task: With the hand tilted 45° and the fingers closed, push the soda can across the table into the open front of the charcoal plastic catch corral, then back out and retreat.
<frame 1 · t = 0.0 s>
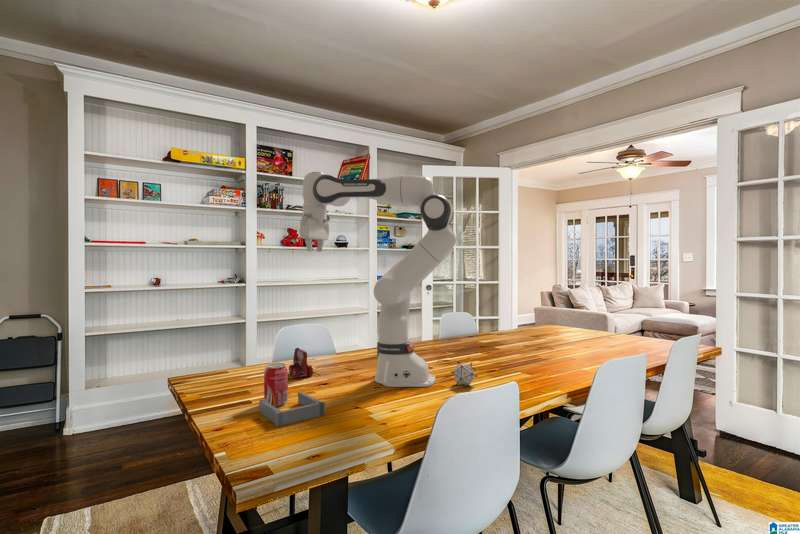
hand: (314, 251, 166), 48 cm above the table, tool pointing down, fingers open, 8 cm apart
corral: (290, 413, 126), on the table
game die: (464, 385, 153), on the table
toy fire truck: (300, 376, 168), on the table
soda can: (276, 404, 134), on the table
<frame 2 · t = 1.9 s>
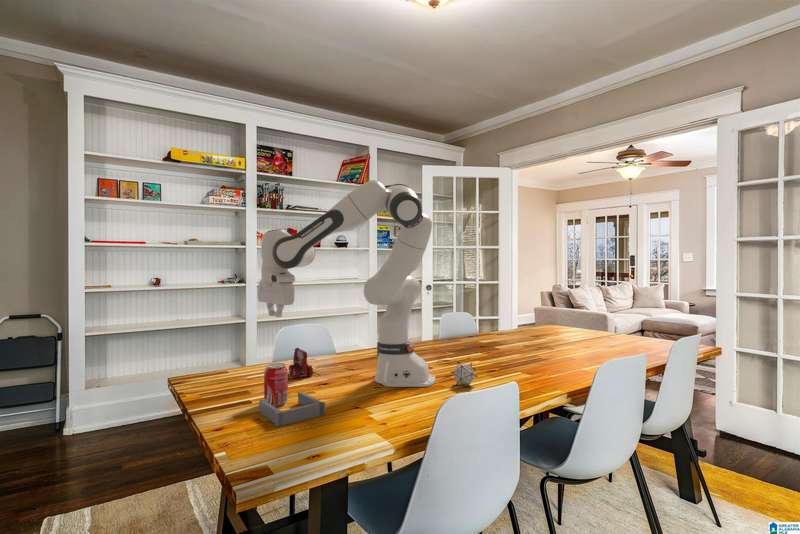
hand: (275, 316, 150), 25 cm above the table, tool pointing down, fingers open, 3 cm apart
nothing on the table moved.
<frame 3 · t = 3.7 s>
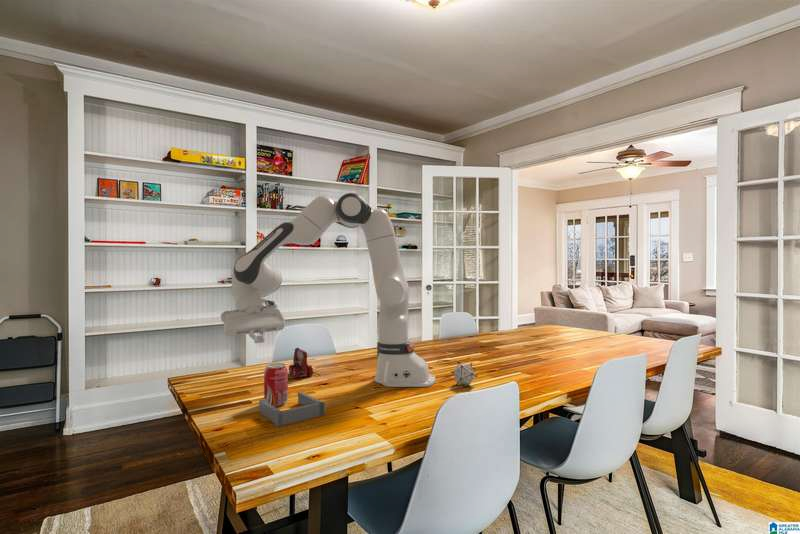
hand: (259, 341, 145), 17 cm above the table, tool tilted 45°, fingers closed
nothing on the table moved.
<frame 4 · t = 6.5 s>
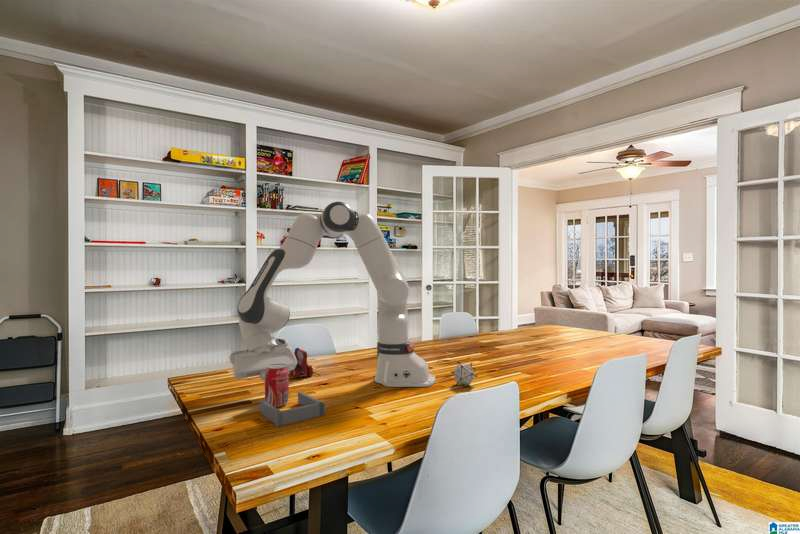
hand: (271, 384, 137), 5 cm above the table, tool tilted 45°, fingers closed
soda can: (276, 405, 134), on the table, touching gripper
everything else where it was.
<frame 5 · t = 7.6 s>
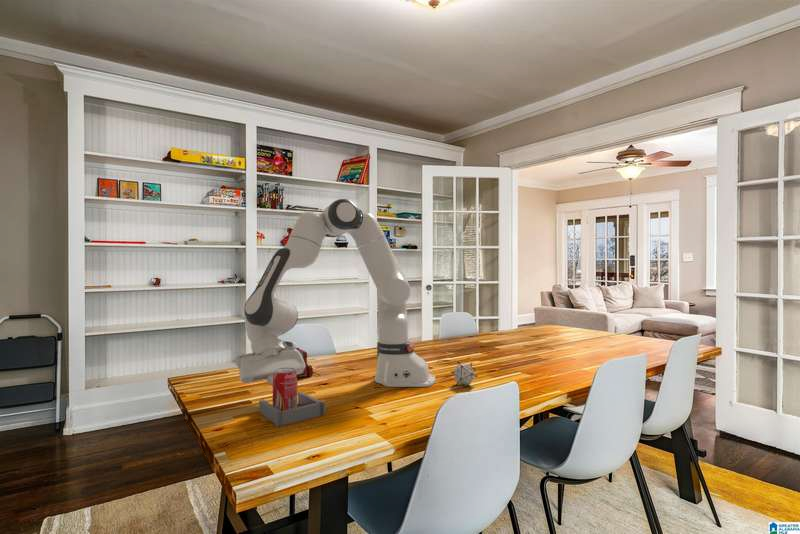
hand: (279, 388, 132), 5 cm above the table, tool tilted 45°, fingers closed
soda can: (285, 410, 129), on the table, touching gripper
everything else where it was.
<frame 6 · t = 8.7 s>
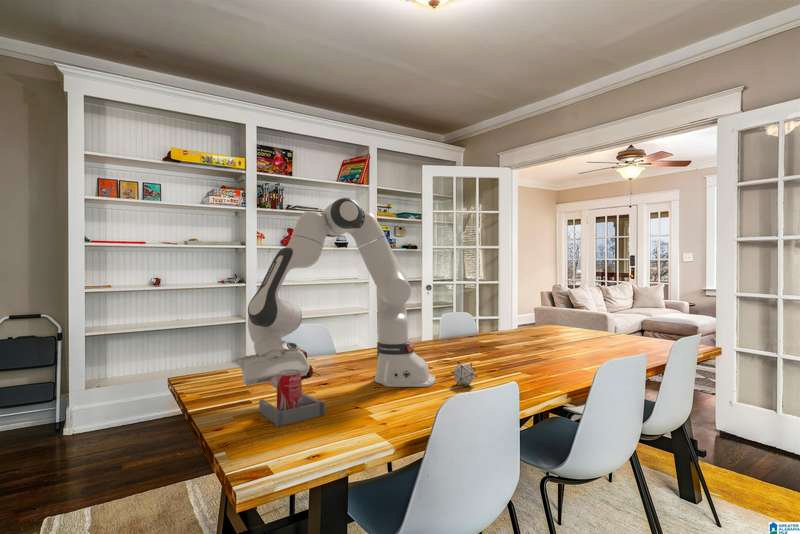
hand: (283, 391, 129), 5 cm above the table, tool tilted 45°, fingers closed
soda can: (289, 413, 126), on the table, touching gripper
everything else where it was.
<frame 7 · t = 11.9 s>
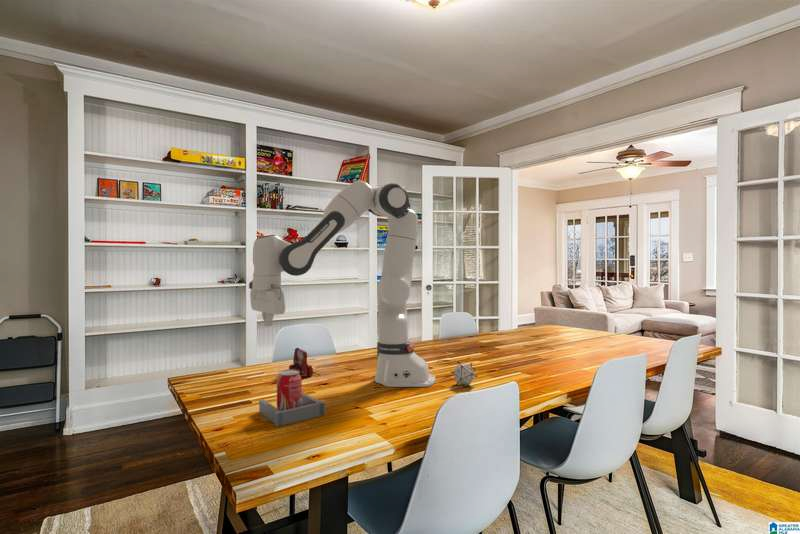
hand: (268, 325, 144), 23 cm above the table, tool pointing down, fingers closed
soda can: (289, 413, 126), on the table
everything else where it was.
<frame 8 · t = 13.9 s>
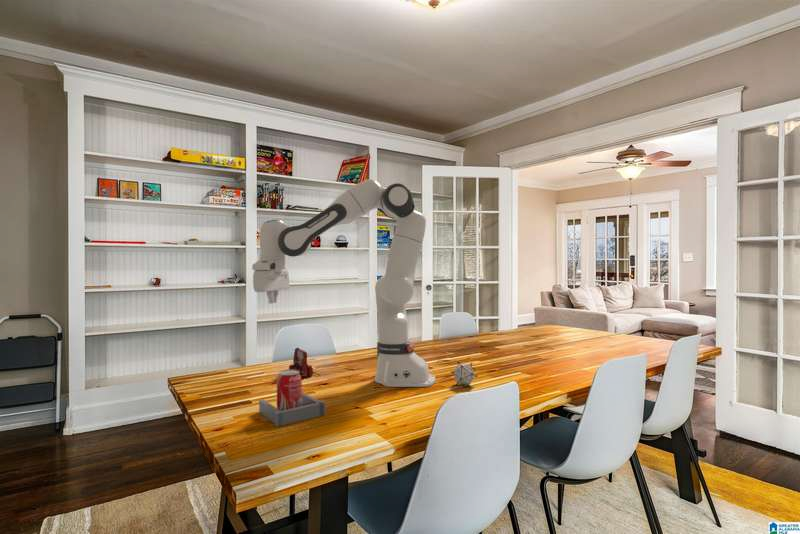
hand: (272, 303, 157), 29 cm above the table, tool pointing down, fingers closed
nothing on the table moved.
at the end: soda can 0.2 cm from the corral (horizontally); soda can moved 10.3 cm from its start; the gripper is holding nothing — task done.
